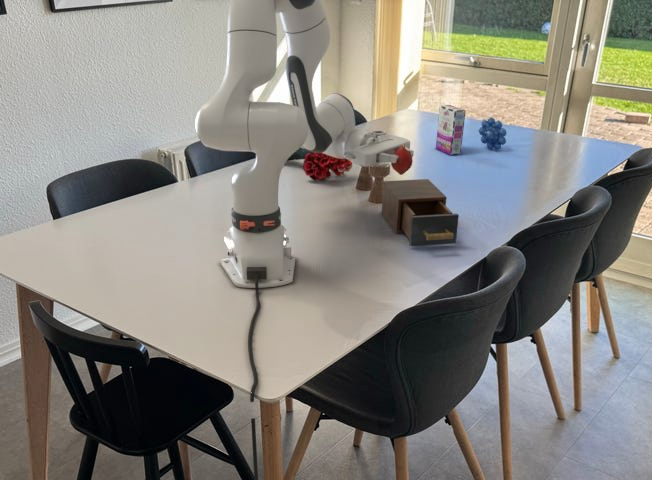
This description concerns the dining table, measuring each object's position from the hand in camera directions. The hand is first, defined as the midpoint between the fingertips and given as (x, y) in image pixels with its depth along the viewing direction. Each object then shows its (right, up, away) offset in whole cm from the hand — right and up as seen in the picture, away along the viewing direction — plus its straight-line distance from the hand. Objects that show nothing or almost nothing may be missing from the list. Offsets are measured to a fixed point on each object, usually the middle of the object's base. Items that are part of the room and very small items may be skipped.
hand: (404, 156), depth 187 cm
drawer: (+7, -21, +4) cm, 22 cm away
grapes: (+42, +28, +87) cm, 100 cm away
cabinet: (+4, -14, +17) cm, 22 cm away
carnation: (-28, +11, +58) cm, 65 cm away
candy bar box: (+25, +26, +84) cm, 91 cm away
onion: (-1, -4, +3) cm, 5 cm away
